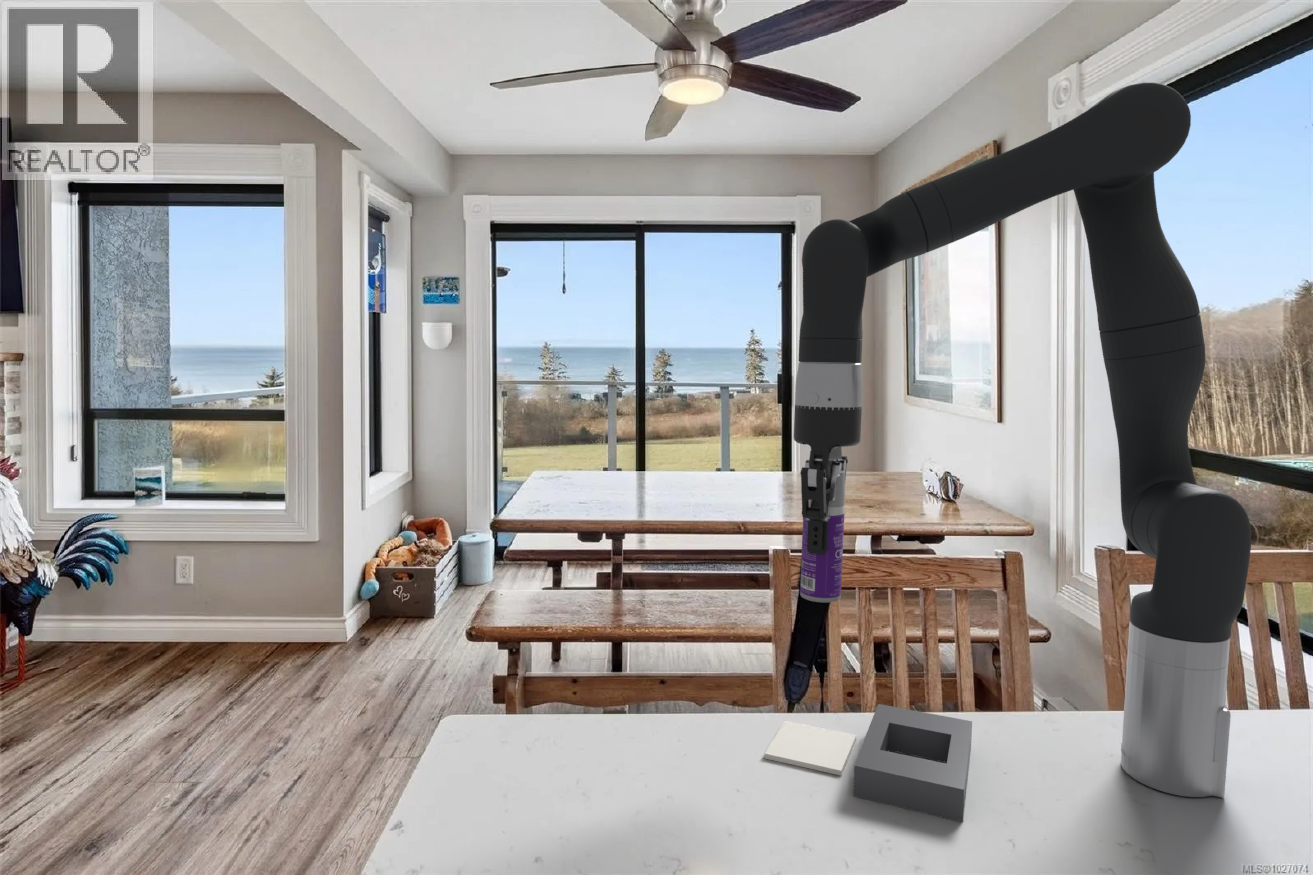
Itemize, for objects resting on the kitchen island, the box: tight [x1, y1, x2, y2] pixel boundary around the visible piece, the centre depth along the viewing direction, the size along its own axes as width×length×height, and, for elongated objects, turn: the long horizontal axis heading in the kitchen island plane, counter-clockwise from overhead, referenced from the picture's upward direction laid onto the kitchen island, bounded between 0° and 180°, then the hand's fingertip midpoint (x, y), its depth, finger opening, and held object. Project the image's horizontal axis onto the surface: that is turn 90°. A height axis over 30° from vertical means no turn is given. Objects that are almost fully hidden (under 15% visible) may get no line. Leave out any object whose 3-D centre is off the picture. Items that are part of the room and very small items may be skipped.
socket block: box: [852, 703, 973, 823], centre depth 87 cm, size 11×16×4 cm
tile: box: [764, 720, 857, 776], centre depth 92 cm, size 9×9×1 cm
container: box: [799, 470, 846, 603], centre depth 88 cm, size 5×5×15 cm
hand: (822, 547), depth 89 cm, fingers closed on container, 4 cm apart
